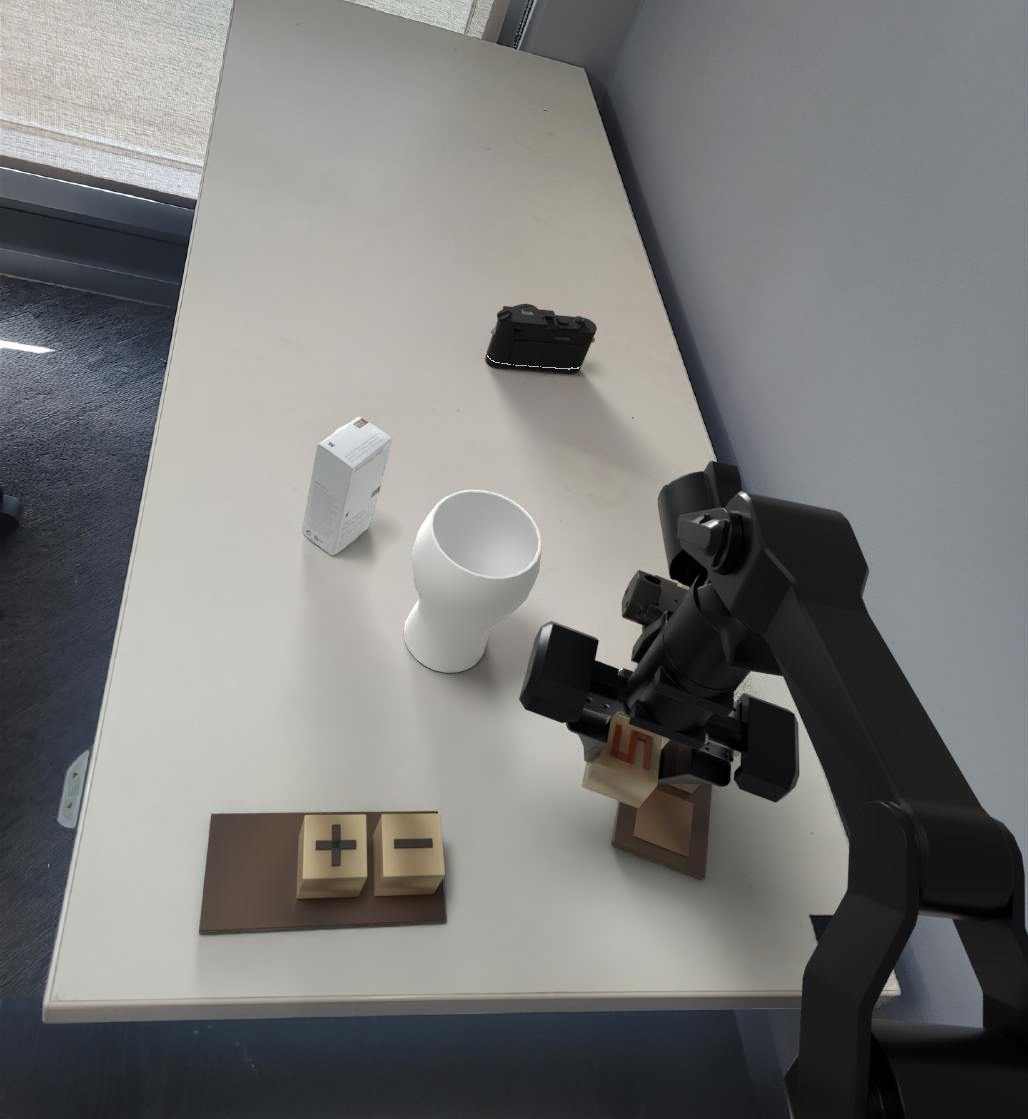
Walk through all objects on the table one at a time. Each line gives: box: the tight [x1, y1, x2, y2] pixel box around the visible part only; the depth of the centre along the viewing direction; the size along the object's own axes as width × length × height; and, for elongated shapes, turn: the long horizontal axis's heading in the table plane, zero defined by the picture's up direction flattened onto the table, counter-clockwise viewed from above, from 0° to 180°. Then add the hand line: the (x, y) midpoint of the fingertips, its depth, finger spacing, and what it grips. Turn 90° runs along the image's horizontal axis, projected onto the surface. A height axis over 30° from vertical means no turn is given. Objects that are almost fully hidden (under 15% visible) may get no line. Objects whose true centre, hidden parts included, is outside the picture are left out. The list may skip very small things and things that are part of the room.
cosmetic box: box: [301, 416, 393, 556], centre depth 85 cm, size 6×4×12 cm
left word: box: [198, 810, 447, 935], centre depth 65 cm, size 17×8×4 cm, turn 97°
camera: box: [484, 303, 598, 375], centre depth 117 cm, size 14×7×8 cm, turn 103°
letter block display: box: [610, 574, 713, 881], centre depth 84 cm, size 30×8×4 cm, turn 165°
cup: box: [403, 489, 543, 674], centre depth 79 cm, size 11×11×15 cm
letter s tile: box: [581, 714, 662, 808], centre depth 66 cm, size 4×4×4 cm
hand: (617, 767), depth 66 cm, fingers closed on letter s tile, 4 cm apart
